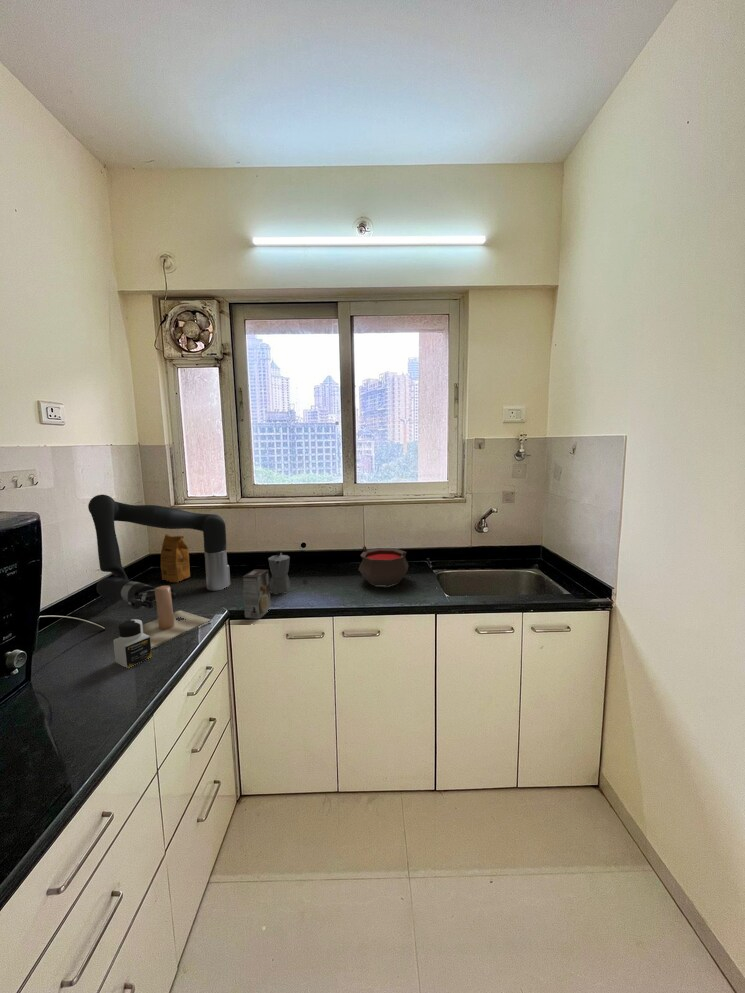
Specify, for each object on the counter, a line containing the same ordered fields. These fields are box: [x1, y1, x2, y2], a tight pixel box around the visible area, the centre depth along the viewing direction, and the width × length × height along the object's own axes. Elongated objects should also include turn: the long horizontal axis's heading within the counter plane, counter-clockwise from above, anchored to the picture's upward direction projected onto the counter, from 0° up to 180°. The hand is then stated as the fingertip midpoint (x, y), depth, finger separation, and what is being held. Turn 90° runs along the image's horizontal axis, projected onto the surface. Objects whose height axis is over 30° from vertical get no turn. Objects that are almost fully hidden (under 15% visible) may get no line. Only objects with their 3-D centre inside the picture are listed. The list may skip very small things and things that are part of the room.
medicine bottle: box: [113, 618, 153, 669], centre depth 117 cm, size 7×7×12 cm
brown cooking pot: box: [358, 545, 409, 586], centre depth 181 cm, size 24×24×16 cm
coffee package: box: [160, 534, 191, 583], centre depth 190 cm, size 10×12×22 cm
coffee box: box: [242, 568, 272, 620], centre depth 149 cm, size 9×6×16 cm
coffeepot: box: [267, 550, 292, 594], centre depth 173 cm, size 15×9×18 cm, turn 8°
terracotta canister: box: [154, 585, 174, 630], centre depth 136 cm, size 5×5×14 cm
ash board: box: [142, 610, 211, 649], centre depth 137 cm, size 22×18×1 cm
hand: (164, 601), depth 136 cm, fingers open, 8 cm apart
